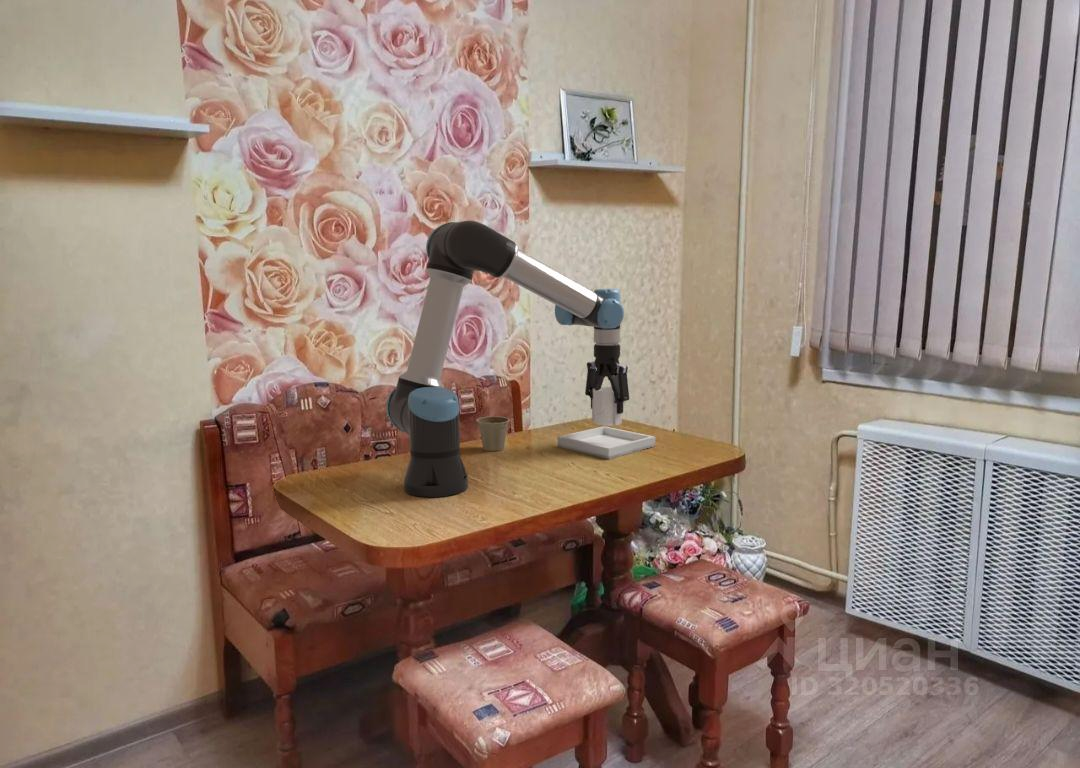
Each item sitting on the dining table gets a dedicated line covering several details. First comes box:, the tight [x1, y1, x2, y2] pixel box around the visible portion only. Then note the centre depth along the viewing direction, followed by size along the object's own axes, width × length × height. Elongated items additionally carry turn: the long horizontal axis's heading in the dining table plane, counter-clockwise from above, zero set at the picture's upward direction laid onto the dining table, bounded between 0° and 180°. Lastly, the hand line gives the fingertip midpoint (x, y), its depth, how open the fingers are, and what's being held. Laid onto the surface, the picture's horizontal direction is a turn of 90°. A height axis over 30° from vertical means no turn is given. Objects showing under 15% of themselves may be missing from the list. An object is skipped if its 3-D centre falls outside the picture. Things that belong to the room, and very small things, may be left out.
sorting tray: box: [557, 425, 656, 460], centre depth 216 cm, size 20×20×3 cm
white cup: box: [593, 386, 616, 427], centre depth 215 cm, size 8×8×10 cm
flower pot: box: [476, 415, 511, 452], centre depth 214 cm, size 9×9×9 cm
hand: (606, 422), depth 215 cm, fingers closed on white cup, 7 cm apart
